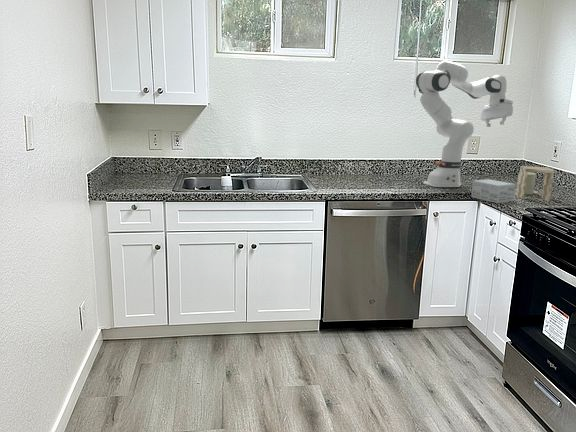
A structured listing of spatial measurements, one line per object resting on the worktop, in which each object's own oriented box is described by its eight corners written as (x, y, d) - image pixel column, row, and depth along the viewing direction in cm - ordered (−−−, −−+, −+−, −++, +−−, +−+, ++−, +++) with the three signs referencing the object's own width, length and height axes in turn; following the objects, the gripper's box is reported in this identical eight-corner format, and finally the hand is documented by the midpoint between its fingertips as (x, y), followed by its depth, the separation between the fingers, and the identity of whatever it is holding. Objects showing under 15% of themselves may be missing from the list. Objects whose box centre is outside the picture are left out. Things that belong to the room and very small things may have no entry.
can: (512, 191, 292) (515, 170, 289) (527, 191, 292) (530, 171, 290) (520, 194, 283) (523, 173, 280) (536, 194, 284) (539, 173, 281)
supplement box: (514, 201, 264) (516, 183, 262) (497, 203, 258) (500, 185, 256) (487, 195, 279) (489, 178, 276) (470, 197, 272) (472, 180, 270)
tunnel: (509, 190, 293) (513, 162, 289) (534, 192, 291) (539, 163, 287) (521, 199, 269) (526, 168, 265) (549, 201, 267) (554, 170, 263)
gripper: (479, 105, 311) (477, 127, 310) (508, 98, 293) (506, 122, 293) (486, 107, 314) (484, 129, 313) (515, 101, 296) (513, 124, 296)
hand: (495, 125), depth 303 cm, fingers open, 8 cm apart
